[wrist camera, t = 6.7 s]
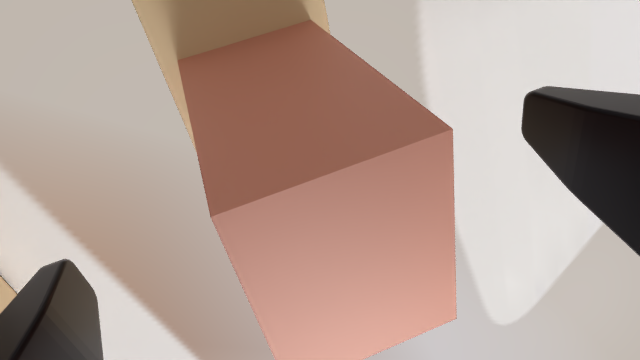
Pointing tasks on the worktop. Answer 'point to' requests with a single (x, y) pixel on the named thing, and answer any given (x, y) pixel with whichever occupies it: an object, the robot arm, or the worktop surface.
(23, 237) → the worktop surface
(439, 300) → the stub
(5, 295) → the hinged cream panel
